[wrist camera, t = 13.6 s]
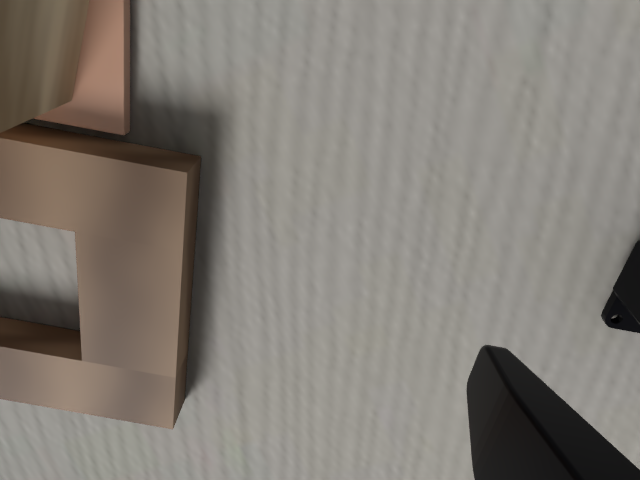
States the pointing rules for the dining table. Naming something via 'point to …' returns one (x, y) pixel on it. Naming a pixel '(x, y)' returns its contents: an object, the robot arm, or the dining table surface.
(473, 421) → the robot arm
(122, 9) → the terracotta tile
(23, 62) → the maple block
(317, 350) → the dining table surface
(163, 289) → the pocket board
